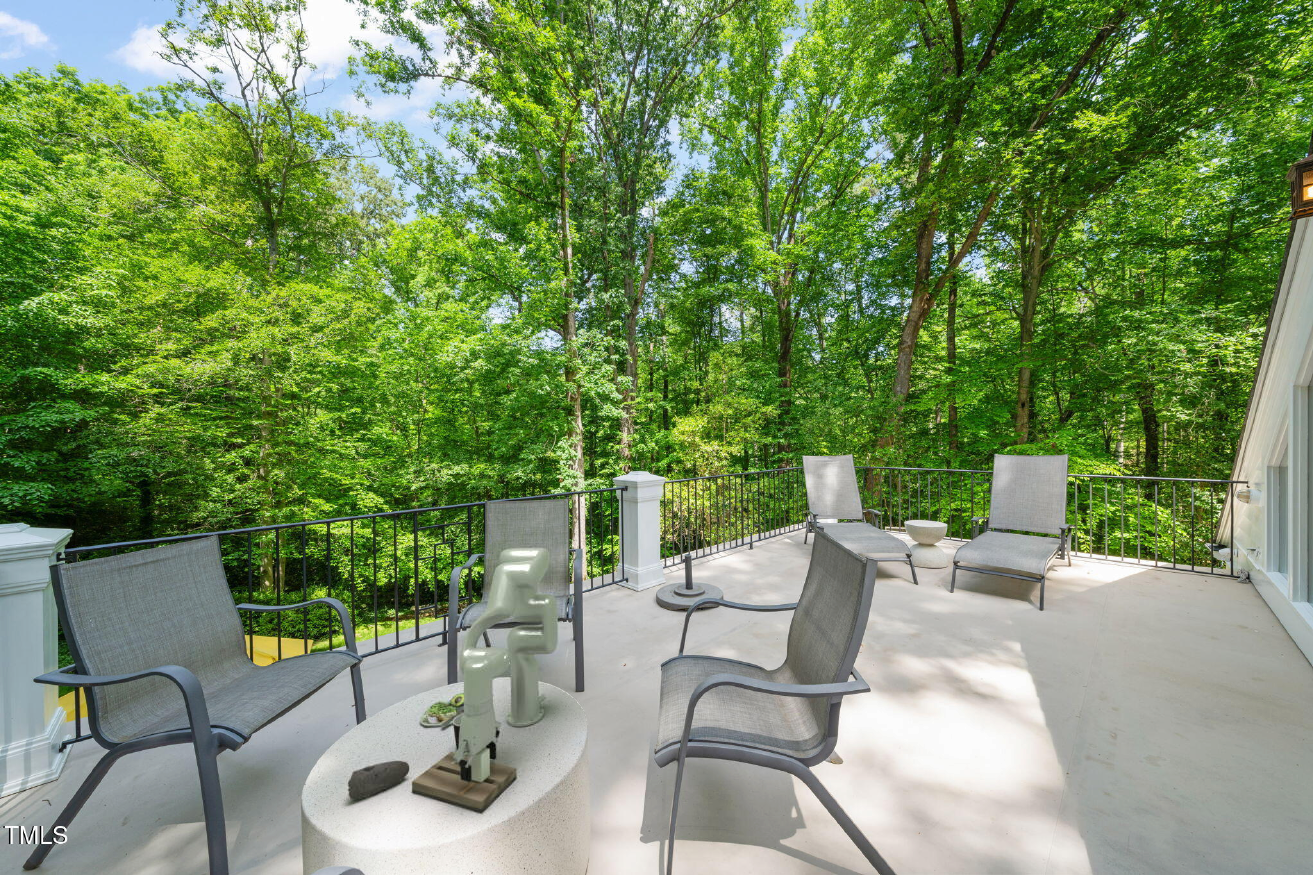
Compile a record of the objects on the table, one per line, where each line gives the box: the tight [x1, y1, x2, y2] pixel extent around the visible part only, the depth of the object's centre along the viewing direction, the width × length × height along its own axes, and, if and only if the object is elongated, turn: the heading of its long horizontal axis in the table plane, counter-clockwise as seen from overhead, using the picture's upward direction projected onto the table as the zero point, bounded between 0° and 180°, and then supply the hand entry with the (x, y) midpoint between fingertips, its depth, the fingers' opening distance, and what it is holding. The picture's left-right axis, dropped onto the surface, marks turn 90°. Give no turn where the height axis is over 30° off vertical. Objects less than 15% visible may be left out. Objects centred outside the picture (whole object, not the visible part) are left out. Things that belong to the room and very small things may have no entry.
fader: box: [469, 747, 491, 782], centre depth 130 cm, size 3×4×9 cm
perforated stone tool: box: [347, 760, 411, 801], centre depth 131 cm, size 15×5×7 cm, turn 125°
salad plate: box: [419, 692, 464, 728], centre depth 168 cm, size 19×18×5 cm
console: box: [411, 751, 517, 814], centre depth 131 cm, size 14×24×3 cm, turn 69°
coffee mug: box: [452, 713, 469, 756], centre depth 148 cm, size 12×9×10 cm
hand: (479, 768), depth 130 cm, fingers open, 9 cm apart
